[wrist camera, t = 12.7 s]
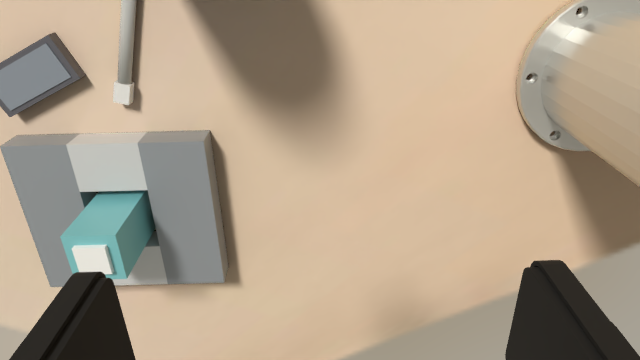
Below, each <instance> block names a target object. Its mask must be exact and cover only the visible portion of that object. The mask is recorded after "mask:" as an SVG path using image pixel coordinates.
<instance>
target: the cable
mask: <svg viewBox="0 0 640 360" xmlns="http://www.w3.org/2000/svg"><path fill="white" fill-rule="evenodd" d="M135 16H136V0H121V18H120V39H119V60H118V80H117V81H115V82H114V95H113V102H116V103H120V104H125V105H130V104H131V103H132V102H133V98H134V82H131V81H132V64H133V48H134V32H135Z"/></svg>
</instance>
